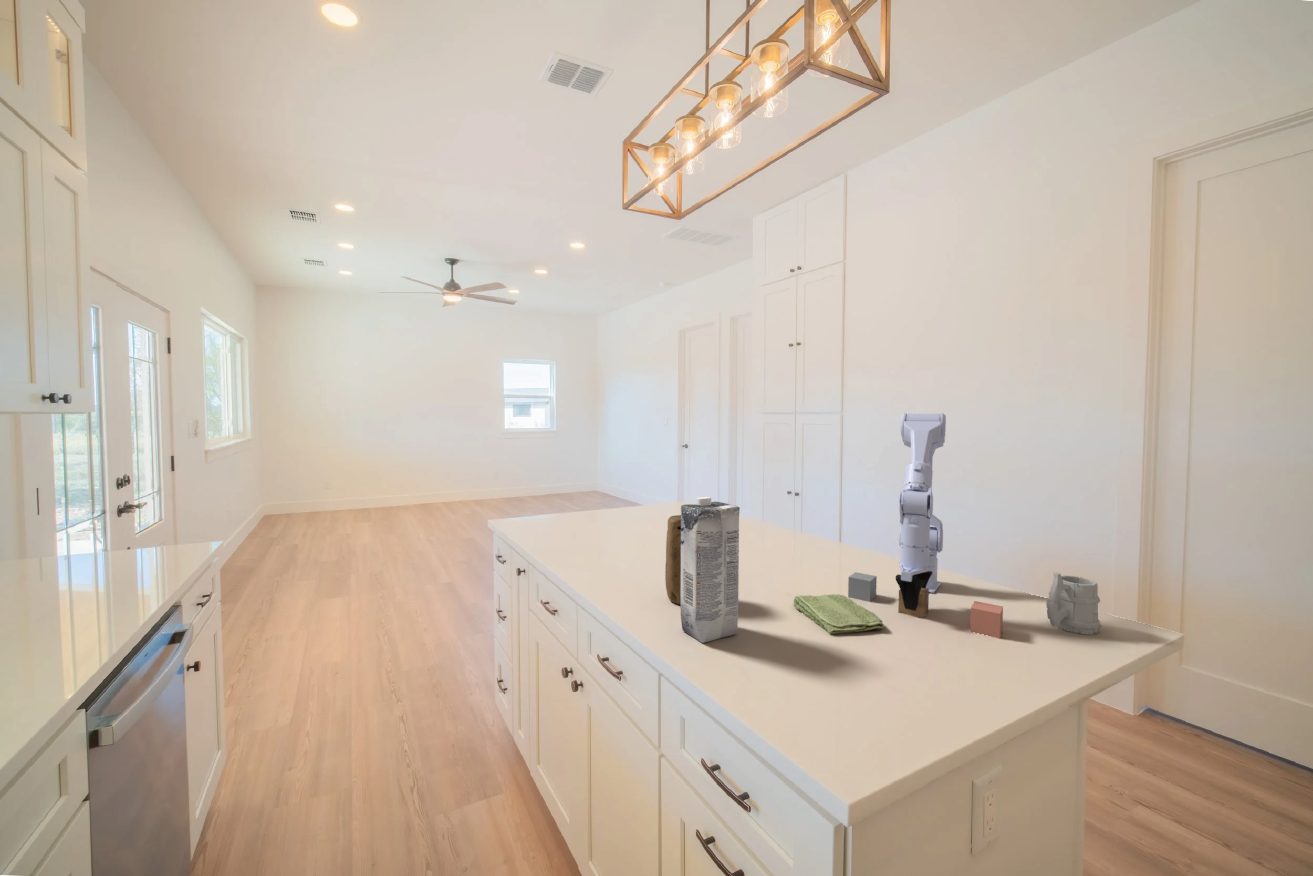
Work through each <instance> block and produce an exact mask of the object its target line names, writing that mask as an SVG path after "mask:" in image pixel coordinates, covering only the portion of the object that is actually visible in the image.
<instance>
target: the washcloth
mask: <svg viewBox="0 0 1313 876" xmlns="http://www.w3.org/2000/svg"><path fill="white" fill-rule="evenodd" d="M793 607H794V608H795V609H796V610H798V611H799V612H800V613H801V614H802V613H803V614H802V615H804V614H805V615H804V616H805V617H807V618H808V619H809V620H810V621H813V622H814V623H815V624H817V625H818V626H820V627H821V628H823V629H824V630H825V631H826V632H827V633H828V634H830V635H839V634H846V633H858V632H865V631H870V630H882V629H883V628H884V627H885V625H884V623H883V620H882V619H880V618H879V617H878V616H877V615H876V614H875V613H874V612H872V611H870V610H869V609H867V608H865V607H863V606H861V605H859V604H857V602H854V601H853V600H852V598H849V597H848V596H845V595H843V594H837V593H836V594H835V593H834V594H822V595H810V594H809V595H808V594H807V595H796V596H794V600H793ZM881 628H882V629H881Z"/></svg>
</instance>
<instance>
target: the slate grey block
mask: <svg viewBox="0 0 1313 876" xmlns="http://www.w3.org/2000/svg"><path fill="white" fill-rule="evenodd" d="M877 582H878V581H877V575H872V574H868V573H862V572H856V571H855V572H853V573H852V574H851V575H849V576H848V583H847V584H848V588H847V589H848V591H847V593H848V594H847V595H848V596H847V598H848V599H854V600H859V601H863V602H868V603H869V602H872V601H873V600H874V599H875V598H876V597H877V584H878V583H877Z"/></svg>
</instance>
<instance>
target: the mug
mask: <svg viewBox="0 0 1313 876" xmlns="http://www.w3.org/2000/svg"><path fill="white" fill-rule="evenodd" d="M1052 579H1053V580H1052V583H1051V586H1050V590H1049V593H1048V599H1047V600H1046V603H1045V605H1046V608H1047V610H1046V614H1047V615H1046V616H1047V620H1049V622H1050V625H1051V626H1053V627H1058V628H1059V629H1061V630H1063V629H1064V630H1063V631H1066V630H1067V632H1070V631H1071V632H1070V633H1075V634H1081V635H1094V634H1097V633H1098V632H1099V628H1101V624H1102V623H1101V621H1100V619H1099V603H1100V602H1101V598H1100V597H1099V595H1098V591H1099V590H1098V589H1099V588H1098V583H1097V581H1095V580H1092V579H1088V578H1085V577H1082V576H1080V577H1079V576H1075V575H1062V574H1061V573H1060V572H1057V571H1055V572H1053V578H1052Z"/></svg>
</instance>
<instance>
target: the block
mask: <svg viewBox="0 0 1313 876" xmlns="http://www.w3.org/2000/svg"><path fill="white" fill-rule="evenodd" d="M665 540H666V541H665V543H666V544H665V574H664V575H665V589H666V594H667V597H668V600H669V601H670V602H671V603H673V604H678V605H681V514H677V515H671V516H669V517H668V519H667V531H666V539H665Z"/></svg>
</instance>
